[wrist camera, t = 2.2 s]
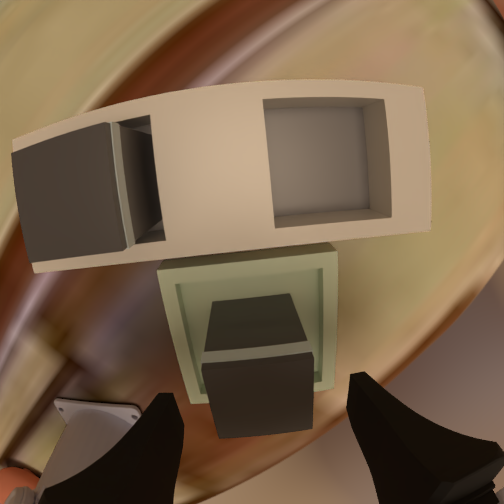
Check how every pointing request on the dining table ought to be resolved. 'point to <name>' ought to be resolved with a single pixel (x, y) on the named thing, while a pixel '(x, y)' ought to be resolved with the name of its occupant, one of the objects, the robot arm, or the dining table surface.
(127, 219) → the twin plug
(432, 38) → the dining table surface
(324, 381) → the tray
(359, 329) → the dining table surface
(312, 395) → the plug
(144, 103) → the strip
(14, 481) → the sugar bowl
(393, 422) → the robot arm
